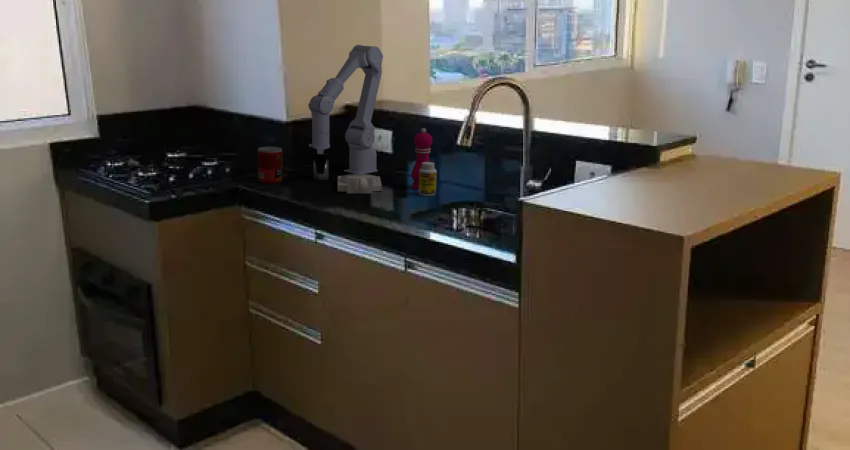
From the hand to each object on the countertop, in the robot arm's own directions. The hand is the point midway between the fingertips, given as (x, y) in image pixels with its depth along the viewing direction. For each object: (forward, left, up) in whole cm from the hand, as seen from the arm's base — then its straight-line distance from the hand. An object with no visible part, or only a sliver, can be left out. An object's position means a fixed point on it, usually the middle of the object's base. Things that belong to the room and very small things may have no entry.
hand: (320, 171), depth 278 cm
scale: (0, +19, -2) cm, 19 cm away
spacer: (0, 0, -2) cm, 2 cm away
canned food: (+16, -7, -3) cm, 18 cm away
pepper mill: (-15, +33, -3) cm, 36 cm away
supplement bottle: (-10, +40, -3) cm, 41 cm away
